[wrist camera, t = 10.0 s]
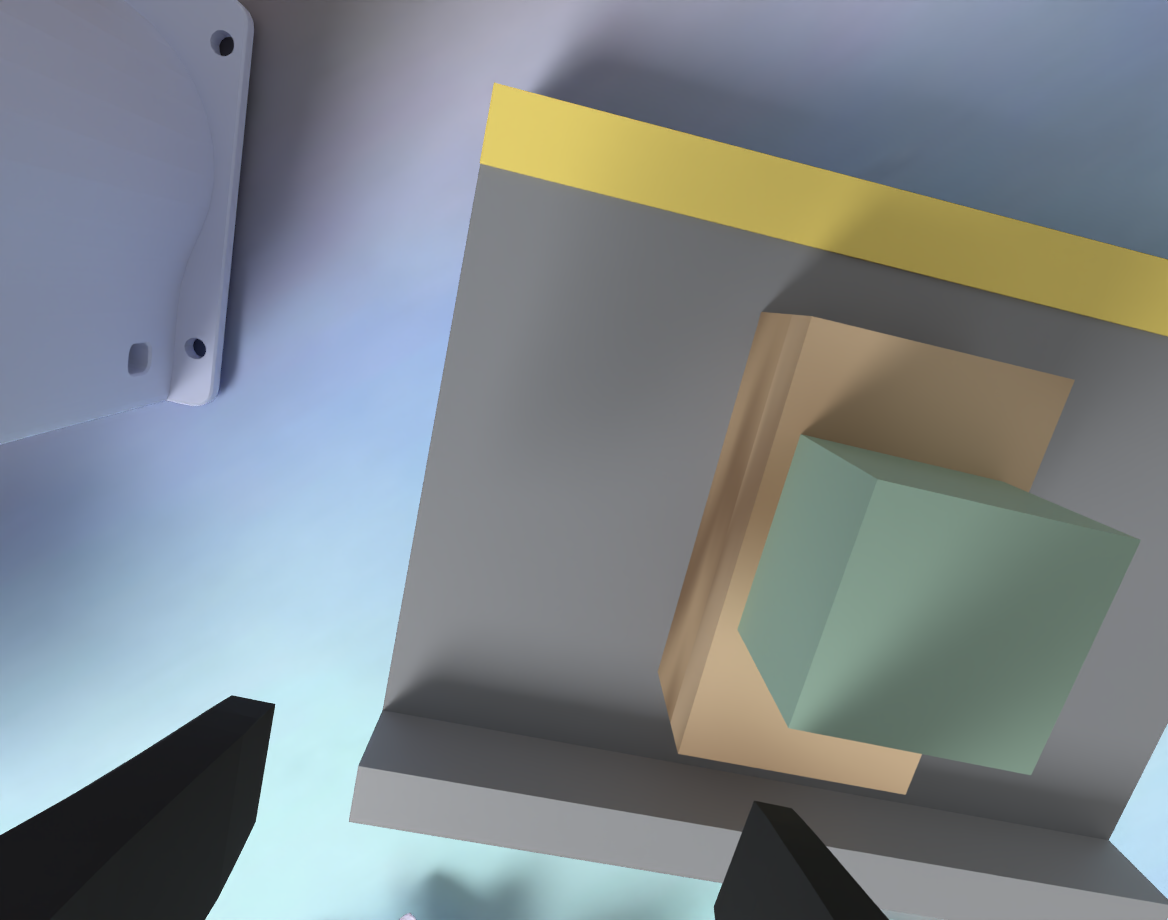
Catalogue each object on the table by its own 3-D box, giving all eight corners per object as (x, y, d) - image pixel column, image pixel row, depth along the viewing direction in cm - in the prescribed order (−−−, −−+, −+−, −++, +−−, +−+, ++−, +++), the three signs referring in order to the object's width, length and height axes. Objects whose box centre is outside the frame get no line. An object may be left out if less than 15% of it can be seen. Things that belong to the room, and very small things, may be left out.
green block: (927, 669, 13) (1031, 775, 10) (737, 629, 13) (788, 728, 10) (1003, 481, 12) (1140, 539, 9) (800, 434, 12) (877, 479, 9)
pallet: (846, 708, 17) (904, 794, 14) (657, 671, 16) (678, 754, 13) (973, 363, 15) (1075, 379, 12) (761, 311, 14) (812, 316, 11)
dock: (1015, 803, 21) (1148, 952, 16) (401, 691, 20) (348, 821, 15) (1239, 311, 18) (1497, 318, 13) (507, 122, 16) (482, 47, 11)
